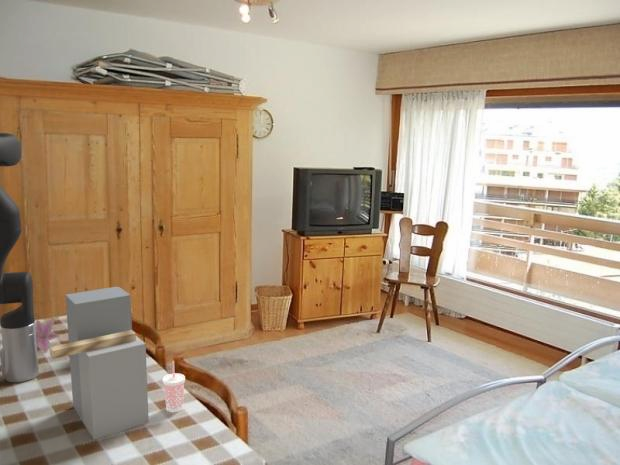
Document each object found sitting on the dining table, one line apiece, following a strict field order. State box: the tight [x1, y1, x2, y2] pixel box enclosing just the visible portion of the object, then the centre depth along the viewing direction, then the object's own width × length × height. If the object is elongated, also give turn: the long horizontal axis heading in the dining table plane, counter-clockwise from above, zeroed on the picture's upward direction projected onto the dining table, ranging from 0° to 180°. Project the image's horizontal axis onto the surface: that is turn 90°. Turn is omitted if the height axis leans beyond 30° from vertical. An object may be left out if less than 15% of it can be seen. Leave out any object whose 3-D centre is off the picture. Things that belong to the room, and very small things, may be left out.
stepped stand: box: [65, 286, 150, 440], centre depth 141 cm, size 14×20×32 cm
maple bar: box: [49, 329, 137, 360], centre depth 133 cm, size 20×3×2 cm, turn 128°
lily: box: [35, 318, 60, 354], centre depth 187 cm, size 12×12×10 cm
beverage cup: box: [162, 360, 186, 413], centre depth 147 cm, size 6×6×14 cm
